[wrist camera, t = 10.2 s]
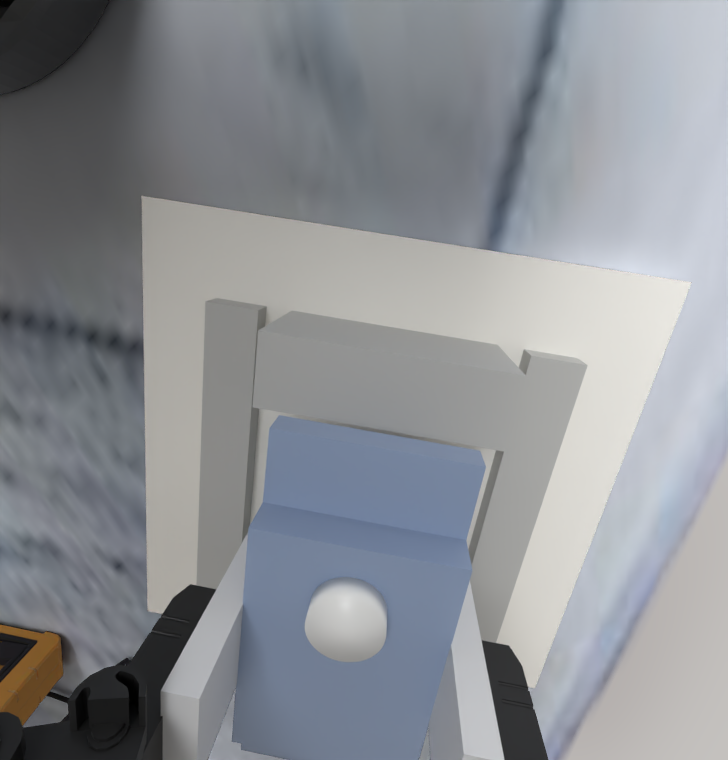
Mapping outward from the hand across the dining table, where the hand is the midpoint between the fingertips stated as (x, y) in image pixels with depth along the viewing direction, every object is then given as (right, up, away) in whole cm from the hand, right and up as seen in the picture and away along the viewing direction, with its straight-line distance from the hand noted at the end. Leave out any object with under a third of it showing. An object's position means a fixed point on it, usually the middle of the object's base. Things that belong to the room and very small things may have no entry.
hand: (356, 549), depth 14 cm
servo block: (0, +1, +2) cm, 2 cm away
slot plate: (+1, +2, +5) cm, 5 cm away
